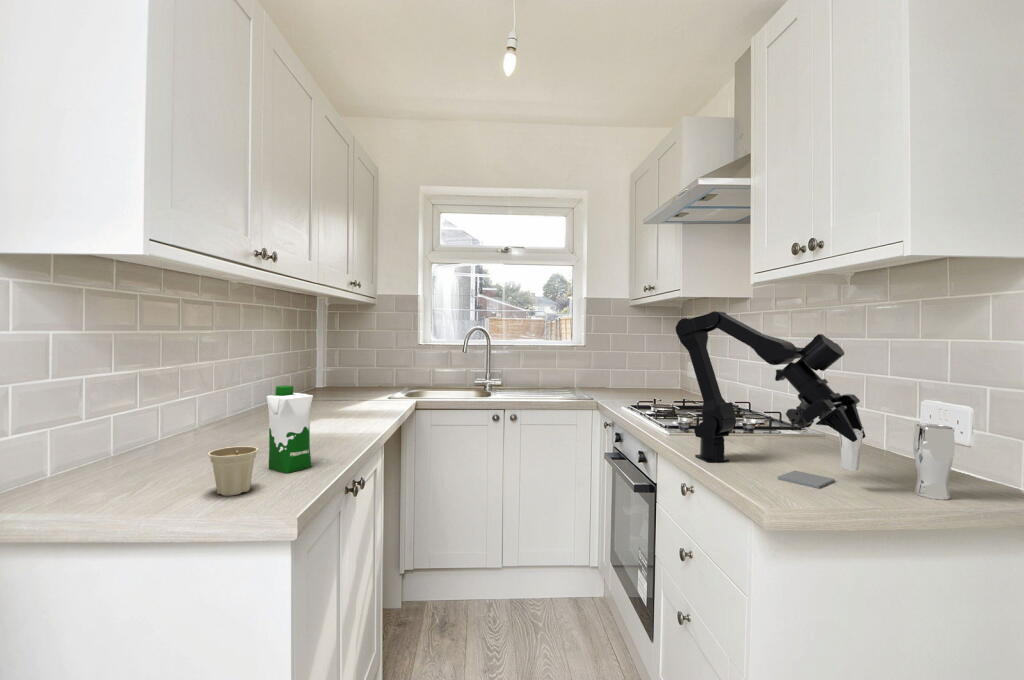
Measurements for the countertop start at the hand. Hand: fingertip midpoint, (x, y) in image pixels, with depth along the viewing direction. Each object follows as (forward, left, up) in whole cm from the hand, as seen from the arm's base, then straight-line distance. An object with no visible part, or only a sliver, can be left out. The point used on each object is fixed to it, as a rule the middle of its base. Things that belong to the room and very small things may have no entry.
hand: (859, 439), depth 117 cm
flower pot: (-23, -133, -12) cm, 135 cm away
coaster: (-10, -5, -12) cm, 16 cm away
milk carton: (-40, -125, -12) cm, 132 cm away
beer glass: (+5, +14, -12) cm, 19 cm away
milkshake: (-1, -1, -7) cm, 7 cm away
